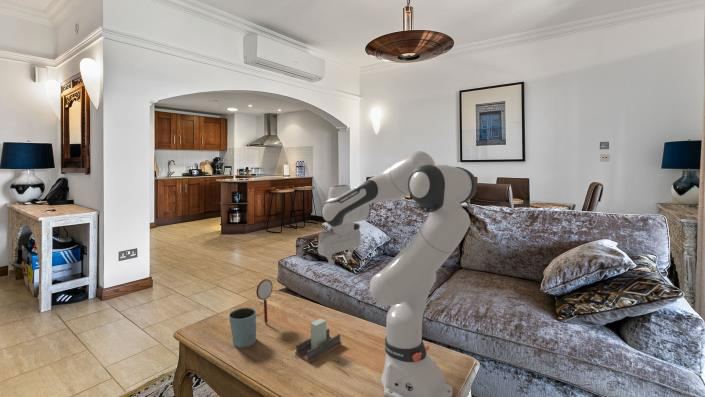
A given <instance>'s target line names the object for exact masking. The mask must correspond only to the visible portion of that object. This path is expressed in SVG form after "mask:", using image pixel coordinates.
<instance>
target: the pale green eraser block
mask: <svg viewBox="0 0 705 397" xmlns="http://www.w3.org/2000/svg"><path fill="white" fill-rule="evenodd" d="M326 330H327V320H326V319H323V318H318V319H316V320H314V321H313V322H310V338H311V349H312V348H314V347H316V346H318V345H320V344H322V343H323V342H325V341H327V338H326Z"/></svg>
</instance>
